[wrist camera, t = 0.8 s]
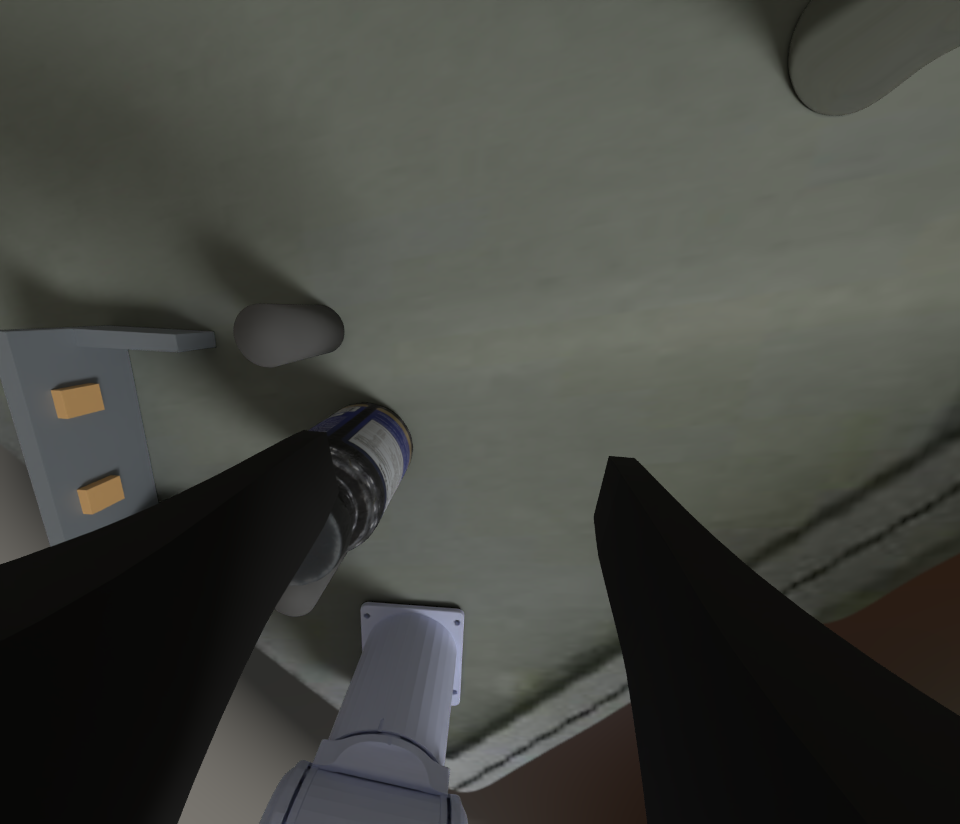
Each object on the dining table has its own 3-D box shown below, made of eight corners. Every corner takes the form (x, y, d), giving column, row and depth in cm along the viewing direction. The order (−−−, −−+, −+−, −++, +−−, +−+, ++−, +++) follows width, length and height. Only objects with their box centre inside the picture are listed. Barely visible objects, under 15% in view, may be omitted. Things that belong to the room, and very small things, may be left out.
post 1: (345, 354, 24) (297, 369, 18) (299, 352, 24) (237, 365, 18) (343, 306, 23) (292, 305, 17) (295, 303, 23) (229, 301, 17)
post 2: (354, 554, 28) (317, 618, 22) (315, 551, 28) (268, 614, 22) (352, 519, 27) (314, 575, 21) (312, 516, 27) (262, 572, 22)
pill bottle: (323, 475, 26) (208, 587, 16) (330, 392, 25) (205, 455, 14) (409, 490, 26) (351, 613, 16) (421, 409, 25) (365, 484, 14)
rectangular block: (240, 523, 28) (172, 579, 22) (148, 517, 28) (57, 571, 22) (214, 331, 24) (124, 338, 18) (108, 325, 24) (-14, 330, 18)
